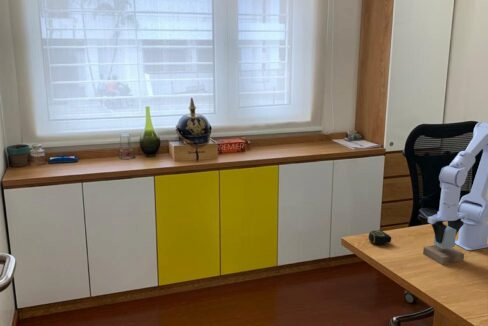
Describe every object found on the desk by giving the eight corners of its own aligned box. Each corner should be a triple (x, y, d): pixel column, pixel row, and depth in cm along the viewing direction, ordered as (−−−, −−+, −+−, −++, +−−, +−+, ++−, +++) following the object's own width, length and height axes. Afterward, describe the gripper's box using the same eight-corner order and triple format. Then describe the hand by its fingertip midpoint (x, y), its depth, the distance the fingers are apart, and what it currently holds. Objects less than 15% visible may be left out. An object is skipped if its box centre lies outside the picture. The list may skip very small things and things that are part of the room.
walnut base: (443, 251, 171) (444, 243, 171) (463, 262, 163) (464, 253, 163) (422, 255, 168) (423, 246, 168) (441, 266, 160) (442, 257, 159)
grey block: (444, 241, 168) (446, 225, 166) (454, 246, 163) (456, 230, 162) (433, 243, 166) (435, 226, 165) (443, 248, 162) (445, 231, 160)
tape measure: (391, 245, 176) (392, 235, 175) (375, 247, 174) (375, 237, 173) (380, 238, 182) (381, 228, 181) (364, 240, 180) (365, 230, 179)
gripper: (457, 196, 167) (453, 233, 170) (423, 201, 162) (419, 239, 165) (473, 203, 161) (468, 241, 164) (438, 207, 156) (433, 247, 159)
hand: (444, 241), depth 164 cm, fingers closed on grey block, 5 cm apart
